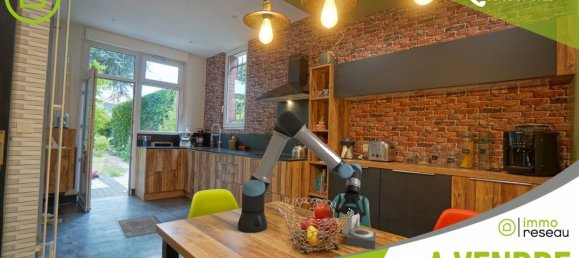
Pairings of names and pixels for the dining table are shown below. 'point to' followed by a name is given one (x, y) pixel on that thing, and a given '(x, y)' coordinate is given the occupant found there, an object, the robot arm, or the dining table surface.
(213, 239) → the dining table surface
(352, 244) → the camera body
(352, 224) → the jar
